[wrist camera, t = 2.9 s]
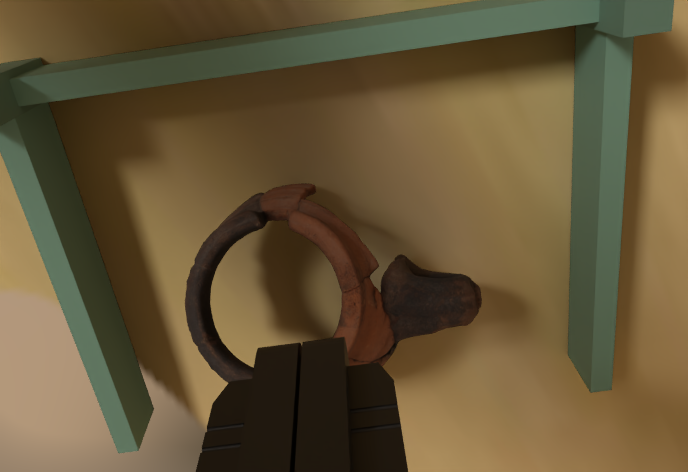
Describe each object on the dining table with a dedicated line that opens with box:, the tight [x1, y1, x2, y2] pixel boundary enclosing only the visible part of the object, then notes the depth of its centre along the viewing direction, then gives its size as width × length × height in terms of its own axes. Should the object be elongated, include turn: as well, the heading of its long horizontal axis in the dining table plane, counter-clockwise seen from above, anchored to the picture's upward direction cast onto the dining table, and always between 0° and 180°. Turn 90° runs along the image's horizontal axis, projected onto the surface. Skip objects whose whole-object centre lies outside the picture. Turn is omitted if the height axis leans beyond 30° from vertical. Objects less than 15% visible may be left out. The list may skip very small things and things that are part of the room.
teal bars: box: [0, 0, 674, 453], centre depth 26 cm, size 18×25×5 cm
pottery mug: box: [185, 184, 482, 383], centre depth 27 cm, size 12×9×8 cm
